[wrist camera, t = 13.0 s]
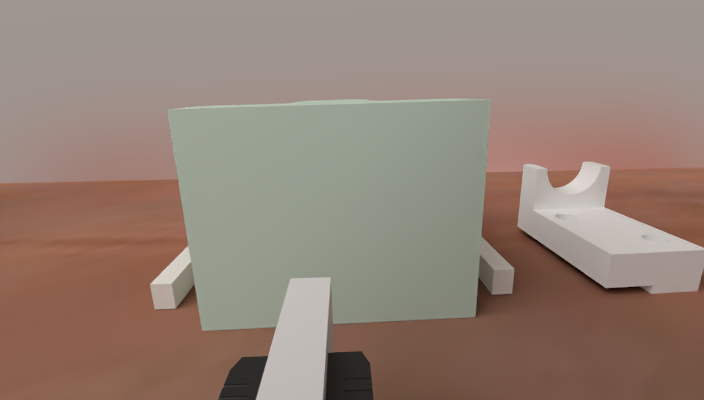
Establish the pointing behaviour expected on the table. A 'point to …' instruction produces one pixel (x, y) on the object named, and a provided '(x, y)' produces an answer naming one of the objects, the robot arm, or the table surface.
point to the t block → (333, 206)
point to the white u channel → (180, 281)
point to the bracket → (604, 234)
